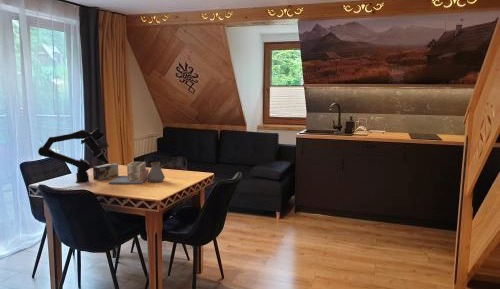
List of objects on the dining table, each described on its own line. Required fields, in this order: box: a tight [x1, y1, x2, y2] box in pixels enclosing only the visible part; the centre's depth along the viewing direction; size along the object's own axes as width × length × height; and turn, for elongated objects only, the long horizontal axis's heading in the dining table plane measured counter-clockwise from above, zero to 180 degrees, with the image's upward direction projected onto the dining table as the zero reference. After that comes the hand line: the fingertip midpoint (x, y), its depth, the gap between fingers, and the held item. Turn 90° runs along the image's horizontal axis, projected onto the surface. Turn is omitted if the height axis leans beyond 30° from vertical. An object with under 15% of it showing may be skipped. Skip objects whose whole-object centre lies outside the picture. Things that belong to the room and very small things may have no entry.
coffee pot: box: [147, 161, 172, 184], centre depth 250 cm, size 21×12×15 cm, turn 54°
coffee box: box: [92, 163, 120, 181], centre depth 264 cm, size 9×6×16 cm
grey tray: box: [108, 168, 150, 185], centre depth 254 cm, size 22×18×7 cm
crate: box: [126, 161, 147, 181], centre depth 254 cm, size 9×12×11 cm
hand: (108, 162), depth 254 cm, fingers closed
